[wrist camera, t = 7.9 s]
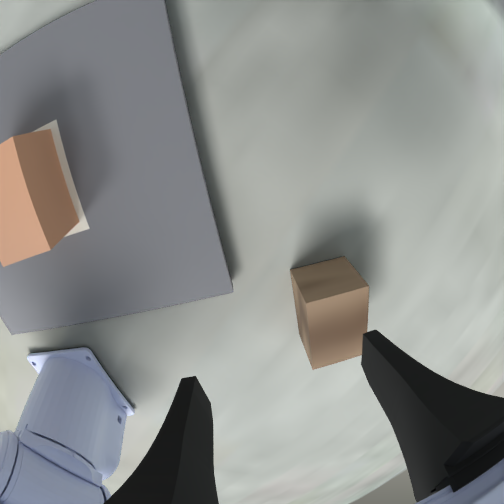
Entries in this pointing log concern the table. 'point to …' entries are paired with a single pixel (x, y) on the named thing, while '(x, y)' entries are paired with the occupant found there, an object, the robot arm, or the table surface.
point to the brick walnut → (330, 310)
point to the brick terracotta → (32, 197)
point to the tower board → (111, 170)
